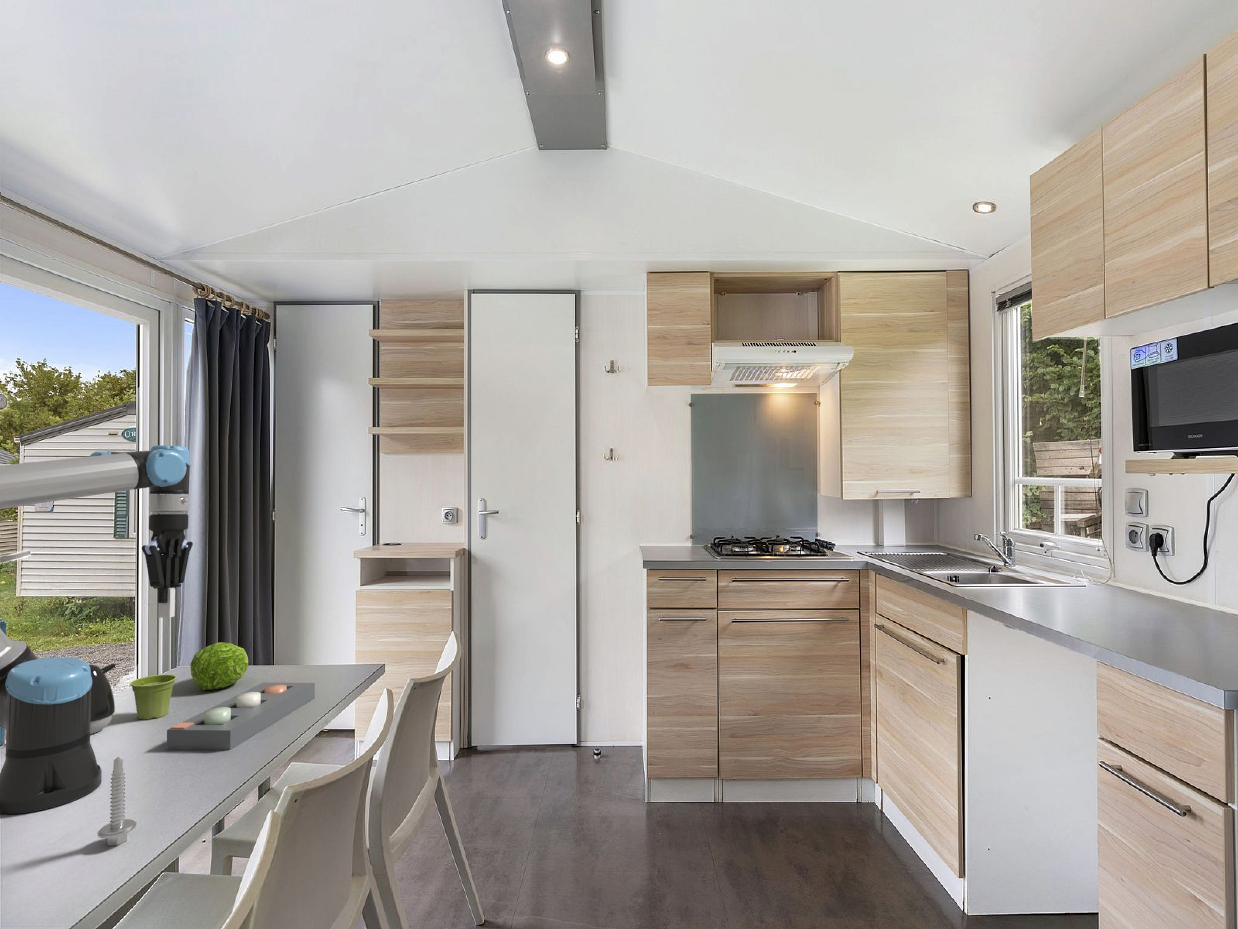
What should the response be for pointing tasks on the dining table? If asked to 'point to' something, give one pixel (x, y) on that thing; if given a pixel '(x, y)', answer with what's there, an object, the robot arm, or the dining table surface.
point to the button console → (240, 719)
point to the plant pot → (153, 695)
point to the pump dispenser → (101, 698)
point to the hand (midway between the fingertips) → (166, 616)
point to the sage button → (217, 716)
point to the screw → (117, 810)
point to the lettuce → (218, 666)
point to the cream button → (248, 700)
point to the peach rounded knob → (275, 689)
